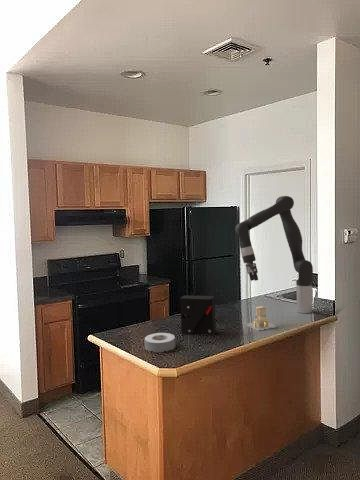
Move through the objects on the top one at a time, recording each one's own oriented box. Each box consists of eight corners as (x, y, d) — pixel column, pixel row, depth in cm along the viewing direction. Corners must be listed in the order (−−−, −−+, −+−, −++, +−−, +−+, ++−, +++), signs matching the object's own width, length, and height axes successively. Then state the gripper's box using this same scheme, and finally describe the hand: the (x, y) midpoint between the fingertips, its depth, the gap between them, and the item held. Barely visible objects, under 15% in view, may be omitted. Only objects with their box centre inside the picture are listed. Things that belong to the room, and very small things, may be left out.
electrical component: (216, 330, 224) (215, 295, 223) (212, 336, 215) (210, 299, 213) (186, 328, 230) (185, 294, 229) (181, 334, 220) (179, 298, 219)
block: (256, 324, 229) (255, 307, 228) (261, 323, 231) (261, 306, 230) (260, 326, 225) (259, 308, 225) (266, 325, 227) (265, 307, 226)
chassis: (246, 325, 231) (246, 319, 231) (263, 322, 236) (263, 316, 236) (258, 330, 220) (258, 324, 220) (276, 327, 225) (276, 321, 225)
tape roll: (178, 350, 196) (177, 340, 195) (147, 354, 193) (146, 343, 192) (172, 340, 211) (171, 331, 210) (143, 344, 208) (142, 334, 207)
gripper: (257, 252, 239) (263, 278, 238) (250, 253, 253) (256, 279, 252) (245, 255, 238) (251, 281, 237) (239, 256, 252) (245, 281, 251)
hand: (254, 280), depth 245 cm, fingers open, 8 cm apart
